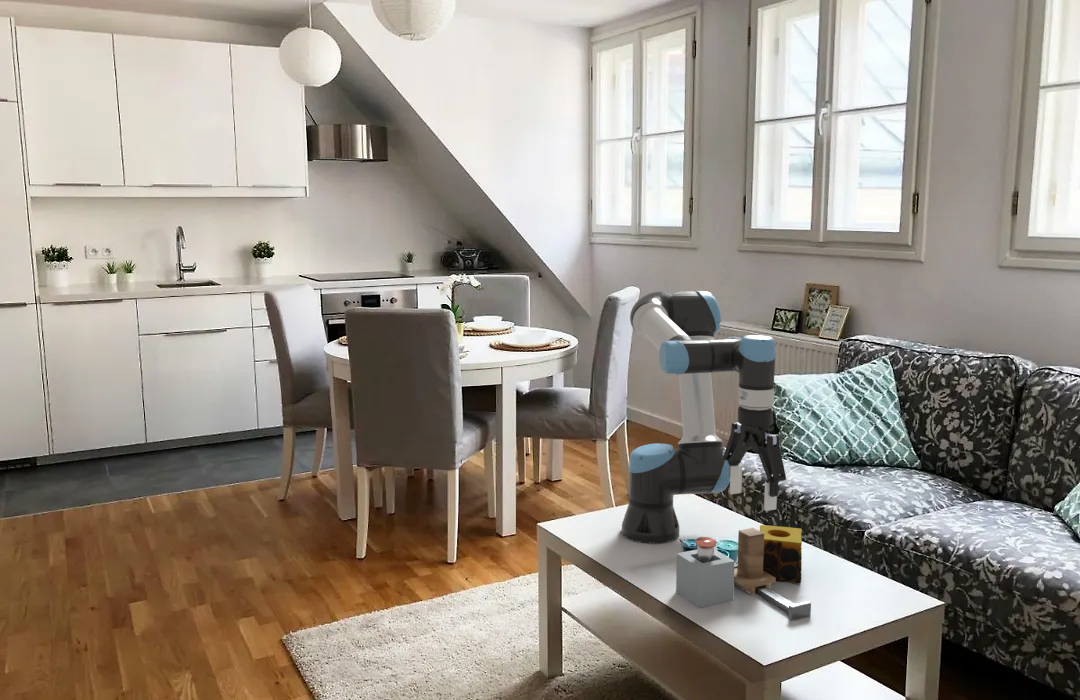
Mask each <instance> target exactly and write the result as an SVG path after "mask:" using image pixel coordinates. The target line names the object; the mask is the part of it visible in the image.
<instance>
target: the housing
mask: <svg viewBox="0 0 1080 700" xmlns="http://www.w3.org/2000/svg"><path fill="white" fill-rule="evenodd" d="M735 564H736V563H735V560H733V559H732V558H731V557H728V556H727V555H725V554H723V553H721V552H720V551H718V550H717V549H715V548H714V561H710V562H705V563H701V562H700V561H698V560H697V549H692V550H688V551H686V550H685V551H683V552H677V553H676V580H675V592H676V593H678V594H679V595H681V596H682V597H683V598H684V599H686V600H687V601H689V602H690V603H692V604H693V605H695V607H697V608H703V607H707V606H713V605H717V604H723V603H727V602H731V601H734V593H735V590H734V589H735V584H734V565H735Z"/></svg>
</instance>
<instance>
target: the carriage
mask: <svg viewBox="0 0 1080 700" xmlns="http://www.w3.org/2000/svg"><path fill="white" fill-rule="evenodd" d="M737 534H738V539H737V541H738V542H737V564H738V566H737V568H736V569H734V586H735V585H736V586H737V587H739V588H740V589H742V590H743V591H744V592H747V593H748V594H749V595H751V596H752V595H756V594H755V587H758V586H763V585H764V586H766V587H767V588H769V589H771V584H775V583H776V582H777V581H776V578H775V577H774V576H772V575H770V574H768V573H767V572H765V571H763V555H764V533H762V532H760V530H758V529H756V528H755V527H749V528H745V529H739V530H738V533H737Z"/></svg>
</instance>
